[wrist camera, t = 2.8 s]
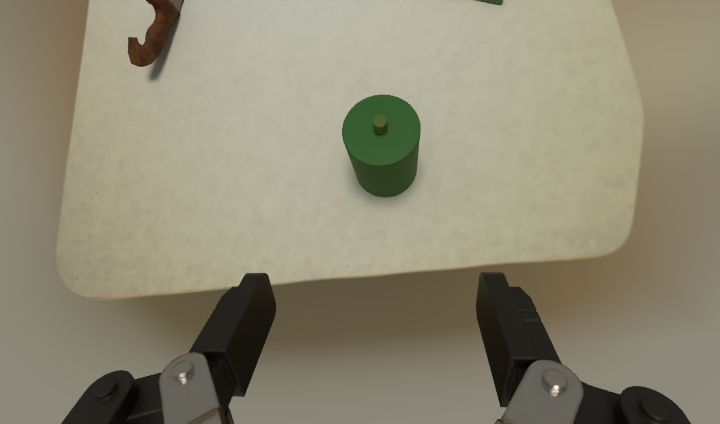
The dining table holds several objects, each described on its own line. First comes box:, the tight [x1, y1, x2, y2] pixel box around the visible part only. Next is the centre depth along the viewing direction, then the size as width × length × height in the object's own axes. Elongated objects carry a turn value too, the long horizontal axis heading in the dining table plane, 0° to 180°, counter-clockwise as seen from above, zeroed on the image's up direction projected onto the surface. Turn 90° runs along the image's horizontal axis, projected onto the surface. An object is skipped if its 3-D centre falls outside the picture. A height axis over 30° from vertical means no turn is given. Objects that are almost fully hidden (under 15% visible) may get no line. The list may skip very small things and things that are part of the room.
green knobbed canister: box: [342, 95, 420, 197], centre depth 28 cm, size 6×6×9 cm
